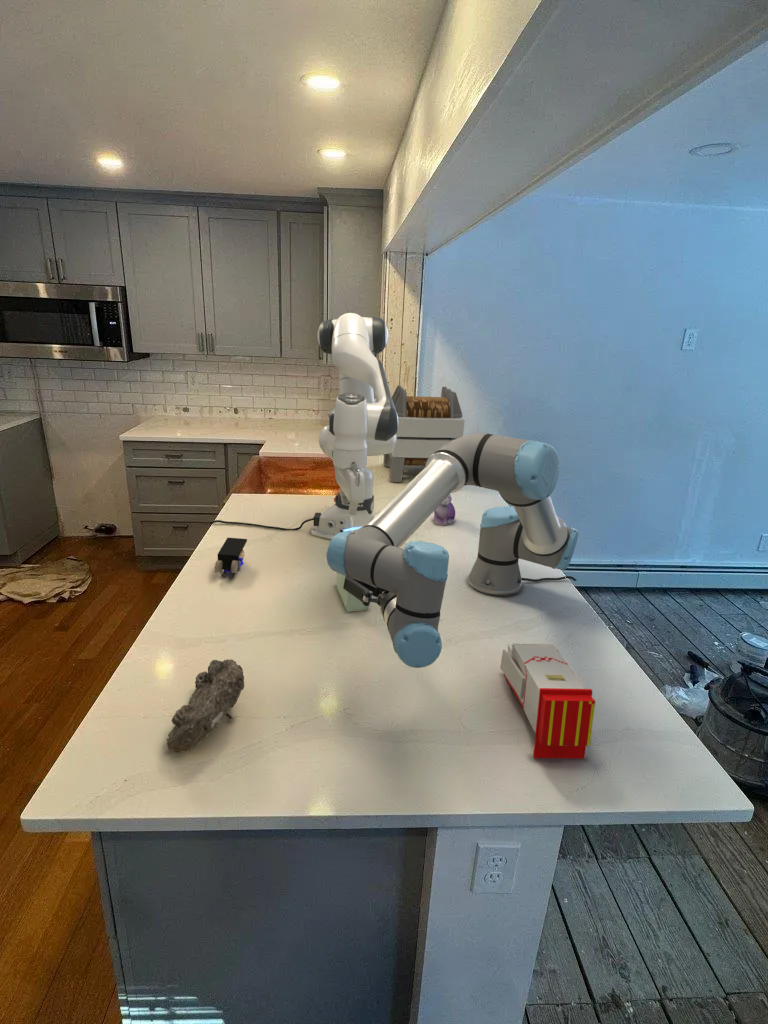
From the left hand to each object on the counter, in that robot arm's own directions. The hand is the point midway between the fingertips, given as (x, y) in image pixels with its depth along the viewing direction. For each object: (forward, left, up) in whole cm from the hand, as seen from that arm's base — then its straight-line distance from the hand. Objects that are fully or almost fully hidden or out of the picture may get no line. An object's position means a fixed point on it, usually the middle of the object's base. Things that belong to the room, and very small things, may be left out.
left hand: (348, 508), depth 152 cm
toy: (+53, -36, -24) cm, 68 cm away
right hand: (+18, -26, -5) cm, 32 cm away
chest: (+3, -5, -24) cm, 25 cm away
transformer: (-7, +125, -24) cm, 127 cm away
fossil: (-6, -59, -24) cm, 64 cm away
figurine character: (-35, -1, -24) cm, 43 cm away
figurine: (+16, +63, -24) cm, 70 cm away
